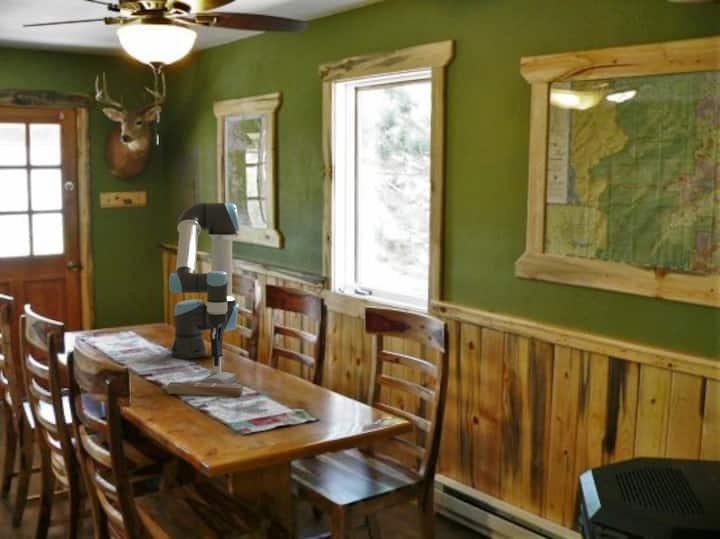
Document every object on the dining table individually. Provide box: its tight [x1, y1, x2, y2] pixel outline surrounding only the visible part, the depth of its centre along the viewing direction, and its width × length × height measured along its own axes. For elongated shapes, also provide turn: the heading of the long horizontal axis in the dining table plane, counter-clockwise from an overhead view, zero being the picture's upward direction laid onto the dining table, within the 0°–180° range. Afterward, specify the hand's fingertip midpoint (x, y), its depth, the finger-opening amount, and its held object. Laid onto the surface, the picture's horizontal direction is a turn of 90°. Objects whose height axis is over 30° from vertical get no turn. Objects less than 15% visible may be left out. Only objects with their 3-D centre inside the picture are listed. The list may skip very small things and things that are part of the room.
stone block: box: [202, 371, 236, 384], centre depth 290 cm, size 12×5×10 cm
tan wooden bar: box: [166, 381, 244, 397], centre depth 278 cm, size 4×26×3 cm, turn 88°
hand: (216, 373), depth 296 cm, fingers closed
